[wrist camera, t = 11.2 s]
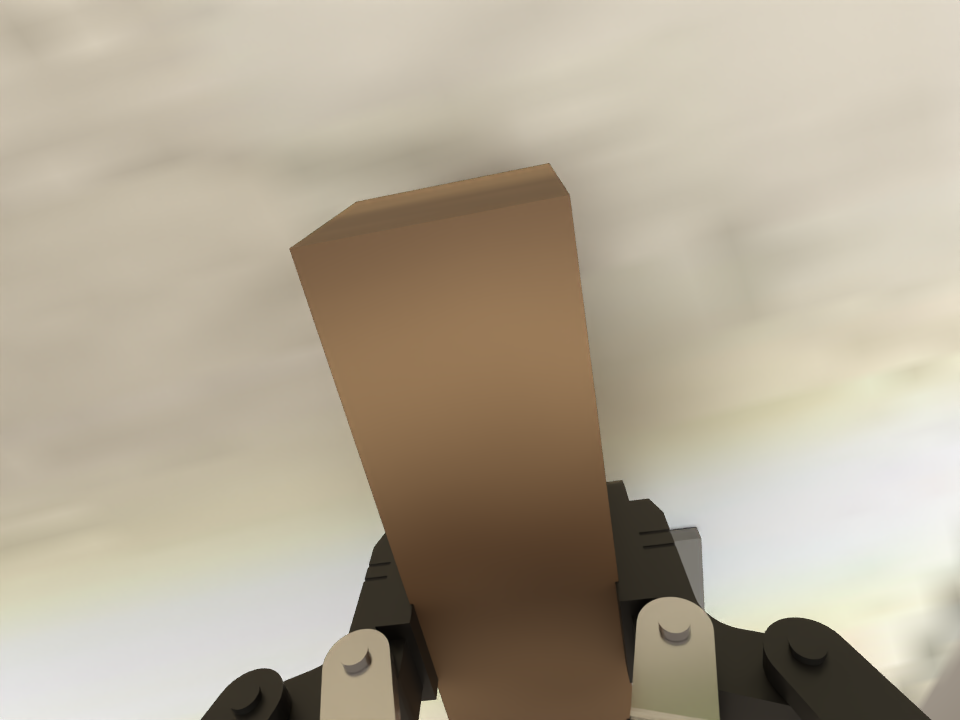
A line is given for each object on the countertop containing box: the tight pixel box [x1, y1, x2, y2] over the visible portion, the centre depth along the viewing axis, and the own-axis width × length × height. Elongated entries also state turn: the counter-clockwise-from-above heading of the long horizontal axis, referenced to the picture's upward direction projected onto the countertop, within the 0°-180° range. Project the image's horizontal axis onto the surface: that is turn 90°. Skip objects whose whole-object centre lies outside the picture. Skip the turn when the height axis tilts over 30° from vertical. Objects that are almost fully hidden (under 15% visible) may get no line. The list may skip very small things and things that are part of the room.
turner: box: [290, 163, 632, 720], centre depth 14 cm, size 21×6×4 cm, turn 11°
